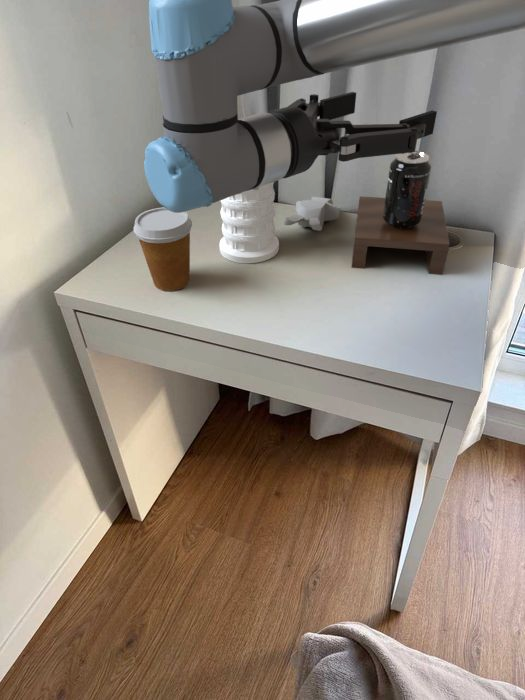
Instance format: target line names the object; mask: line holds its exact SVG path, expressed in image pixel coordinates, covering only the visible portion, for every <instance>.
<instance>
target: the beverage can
mask: <svg viewBox="0 0 525 700" xmlns="http://www.w3.org/2000/svg"><path fill="white" fill-rule="evenodd" d="M394 157H395V158H394V159H393V160H392V161H391V162H390V164H389V169H388V176H387V182H386V183H387V184H386V189H385V197H384V198H385V204H384V211H383V219H384V220H385V222H387V223H388V224H389V225H390V226H392V227H395V228H399V229H407V228H411V227H413V226H415V225H417V224H418V223H420V221H421V218H422V213H423V208H424V203H425V200H426V198H427V193H428V188H429V183H430V178H431V173H432V164H431V163H430V162H429V160H430V155H429V154H427V153H425V152H423V151H417V150H415V152H412V153H404V154H394Z"/></svg>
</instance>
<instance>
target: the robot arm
mask: <svg viewBox="0 0 525 700" xmlns="http://www.w3.org/2000/svg"><path fill="white" fill-rule="evenodd" d="M148 15H149V35H150V50H151V53H152V55H153V60H154V66H155V72H156V77H157V78H156V79H157V82H158V83H157V84H158V90H159V97H160V101H161V102H160V103H161V108H162V120H163V121H162V129H163V136H161V137H158V138H157V139H156V140H152V141H151V142H149V143H148V144H147V146H146V148H145V151H144V158H145V159H144V161H143V167H144V168H143V169H144V174H145V179H146V181H147V184H148V186H149V189H150V191H151V193H152V194H153V196H154V198H155V199H156V200H157V202H158V203H159V204H160V205H161V206H162V208H163V207H164V208H166V209H168V210H169V211H171V212H175V213H181V212H188V211H192V210H196V209H199V208H205V207H206V208H208V207H210V206H212V204H215V203H217V202H220V200H223V199H226V198H228V197H231V196H234V195H236V194H239V193H242V192H245V191H249V190H252V189H253V190H258V189H259V187H260V186H263V185H266V184H269V183H272V182H274V183H275V182H277V181H280V180H283V179H288V178H290V177H294V176H296V175H299V174H302V173H305V172H307V171H309V169H310V168H312V166H313V164H314V163H315V162H316V159H317V158H318V157H319V156H328V155H330V154H338V158H337V159H338V161H339V162H344V163H345V162H349V161H353V160H356V159H362V158H371V157H373V158H374V157H380V156H381V157H382V156H390V155H391V156H392V155H396V154H404V153H412V152H415V151H416V148H417V145H418V144H417V143H418V140H419V139H422V138H425V137H427V136H430V135H433V134H434V131H435V125H436V119H437V114H438V111H436V110H429V111H426V112H423V113H419V114H417V115H414V116H410V117H407V118H403V119H400V120H399V123H380V124H379V123H378V124H376V123H375V124H372V123H371V124H352V123H353V122H351V121H350V120H335V119H339V118H343V117H345V116H348V115H352V114H355V113H356V112H355V111H356V103H357V101H356V100H357V92H355V91H351V92H347V93H342V94H339V95H335V96H330V97H327V98H322V99H319V94H316V93H315V94H310V95H309V100H308V101H309V102H307V100H306V99H305V98H298V99H296V100H294V101H293V102H292V103H291V104H289V105H288V106H285V107H281V108H278V109H273V110H269V111H265V112H260V113H256V114H252V115H249V116H248V115H247V116H245V117H241V118H239V117H238V97H239V96H242V95H246V94H250V93H254V92H257V91H261V90H262V91H263V90H265V89H267V88H271V87H275V86H280V85H283V84H284V85H285V84H287V83H292V82H296V81H301V80H305V79H310V78H313V77H318V76H323V75H325V74H328V73H333V72H337V71H343V70H346V69H350V68H355V67H360V66H363V65H364V66H365V65H369V64H373V63H377V62H381V61H386V60H391V59H395V58H400V57H405V56H408V55H413V54H418V53H421V52H426V51H430V50H435V49H440V48H444V47H448V46H453V45H458V44H461V43H467V42H470V41H475V40H480V39H484V38H489V37H493V36H498V35H503V34H506V33H510V32H515V31H519V30H523V29H525V0H276V1H271V2H267V3H261V4H255V5H240V6H234V5H233V0H149V1H148ZM318 117H319V118H318ZM341 129H344V135H343V136H341Z"/></svg>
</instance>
